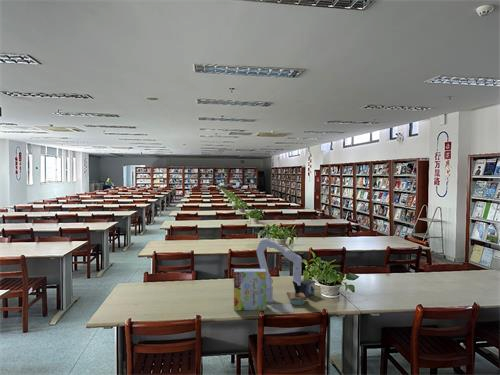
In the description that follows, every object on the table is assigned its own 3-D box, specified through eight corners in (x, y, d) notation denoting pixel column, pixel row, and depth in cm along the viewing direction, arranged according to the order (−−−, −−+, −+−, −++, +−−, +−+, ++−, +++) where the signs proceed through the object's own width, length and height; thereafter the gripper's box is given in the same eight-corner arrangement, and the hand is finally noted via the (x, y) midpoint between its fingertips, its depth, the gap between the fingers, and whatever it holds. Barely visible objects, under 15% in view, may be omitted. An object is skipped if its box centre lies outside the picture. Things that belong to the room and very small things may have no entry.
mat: (272, 312, 224) (272, 312, 224) (270, 304, 238) (270, 304, 238) (293, 312, 225) (293, 312, 225) (290, 304, 239) (290, 303, 239)
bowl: (290, 305, 237) (290, 299, 237) (288, 300, 247) (288, 294, 247) (305, 305, 237) (305, 299, 237) (302, 300, 247) (302, 294, 247)
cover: (289, 299, 236) (289, 293, 235) (286, 293, 247) (286, 287, 247) (306, 300, 236) (307, 293, 236) (303, 294, 248) (303, 288, 248)
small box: (304, 298, 252) (304, 283, 251) (298, 295, 257) (298, 281, 256) (314, 295, 258) (315, 281, 257) (308, 292, 263) (308, 279, 263)
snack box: (265, 305, 236) (266, 268, 235) (266, 310, 228) (267, 271, 227) (233, 305, 235) (234, 268, 235) (233, 310, 227) (233, 271, 226)
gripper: (305, 276, 234) (304, 296, 235) (301, 270, 249) (300, 289, 249) (294, 276, 234) (294, 296, 234) (291, 270, 248) (290, 289, 249)
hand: (296, 292), depth 242 cm, fingers closed on cover, 2 cm apart
